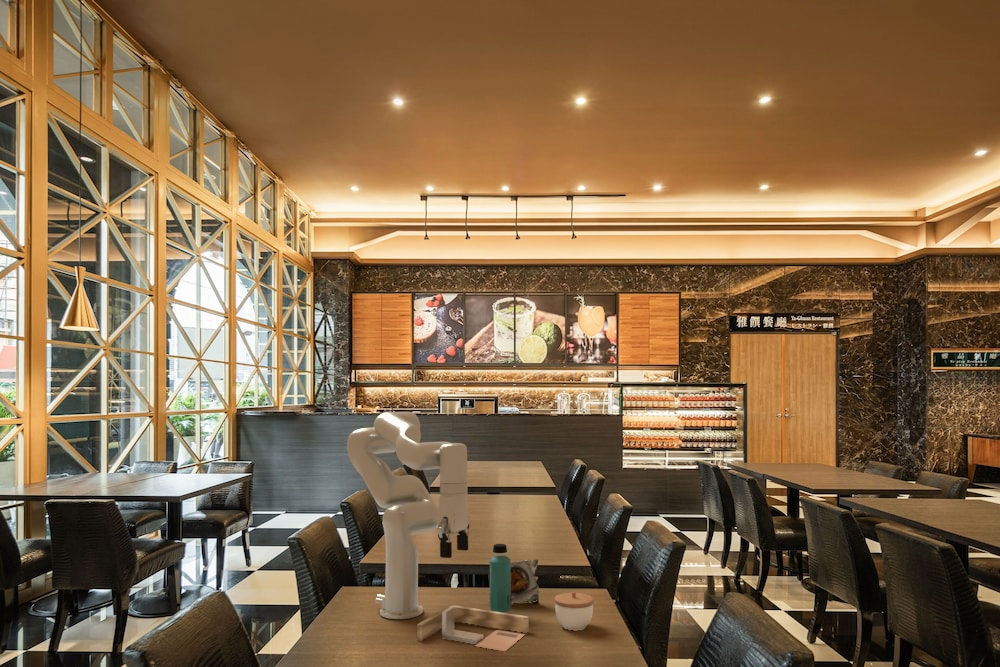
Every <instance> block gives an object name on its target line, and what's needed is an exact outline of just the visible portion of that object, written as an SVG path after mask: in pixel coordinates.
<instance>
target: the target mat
mask: <svg viewBox="0 0 1000 667" xmlns="http://www.w3.org/2000/svg"><path fill="white" fill-rule="evenodd" d="M524 635H525V636H526V633H521V632H514V631H508V630H502V629H496V630H494V631H493V632H492V633H490V634H489V635H487V636H486V637H485V638H484V639H483V640H482V641H480V642H479V643H478V644H476V645H474V647H475V646H476V648H480V647H482V648H481V649H486V648H487V649H486V650H491V649H493V651H497V650H498V651H497V652H504V653H505V652H507V651H508V650H509V649H510V648H512V647H513V646H514V645H515V644H517V643H518V642H519V641H520V640H521V639H523V638H524V637H525V636H524ZM523 636H524V637H523ZM522 637H523V638H522ZM518 640H519V641H518ZM517 641H518V642H517Z"/></svg>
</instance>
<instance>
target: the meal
mask: <svg viewBox="0 0 1000 667" xmlns="http://www.w3.org/2000/svg"><path fill="white" fill-rule="evenodd" d="M491 558H492V557H490V558H489V560H490V559H491ZM538 563H539V559H537V558H535V559H524V560H522V561H521V560H520V561H511V562H510V565H511V590H512V591H511V595H512V597H511V603H518V604H521V603H522V602H523V603H526V602H533V601H536V600H537V604H539V603H540V602H539V600H540V599H539V594H540V593H539V585H538V583H537V581H538V579H539V577H538V576H536V575H535V574H536V570H537V567H538V565H539V564H538Z"/></svg>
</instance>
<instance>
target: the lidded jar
mask: <svg viewBox="0 0 1000 667" xmlns="http://www.w3.org/2000/svg"><path fill="white" fill-rule="evenodd" d="M554 611H555V615H556V618H557V621H558V622H559V623H560V625H561V626H562V628H563V627H564V630H567V629H568V630H567V631H571V630H573V631H574V632H578V630H580V631H583V630H585V629H586V627H587V626H588V625H589V624H590V622H591V620H592V617H593V612H594V598H593V597H592V596H591V595H589V594H585V593H581V592H577V591H571V592H563V593H560V594H557V595H556V596H554ZM573 631H572V632H573Z"/></svg>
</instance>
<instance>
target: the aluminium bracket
mask: <svg viewBox="0 0 1000 667" xmlns="http://www.w3.org/2000/svg"><path fill="white" fill-rule="evenodd" d="M446 608H447V607H446ZM442 638H444V639H443V640H445V639H449V640H448V641H451V640H455V641H454V642H456V641H460V642H459V643H462V642H465V643H464V644H468V643H470V644H469V645H473V644H476V645H477V643H478V642H481V640H483V639H485V638H484V634H482V633H476V632H471V631H465V630H458V629H455V622H454V607H449V608H447V609H446V610H444V611H442V629H441V639H442Z"/></svg>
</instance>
